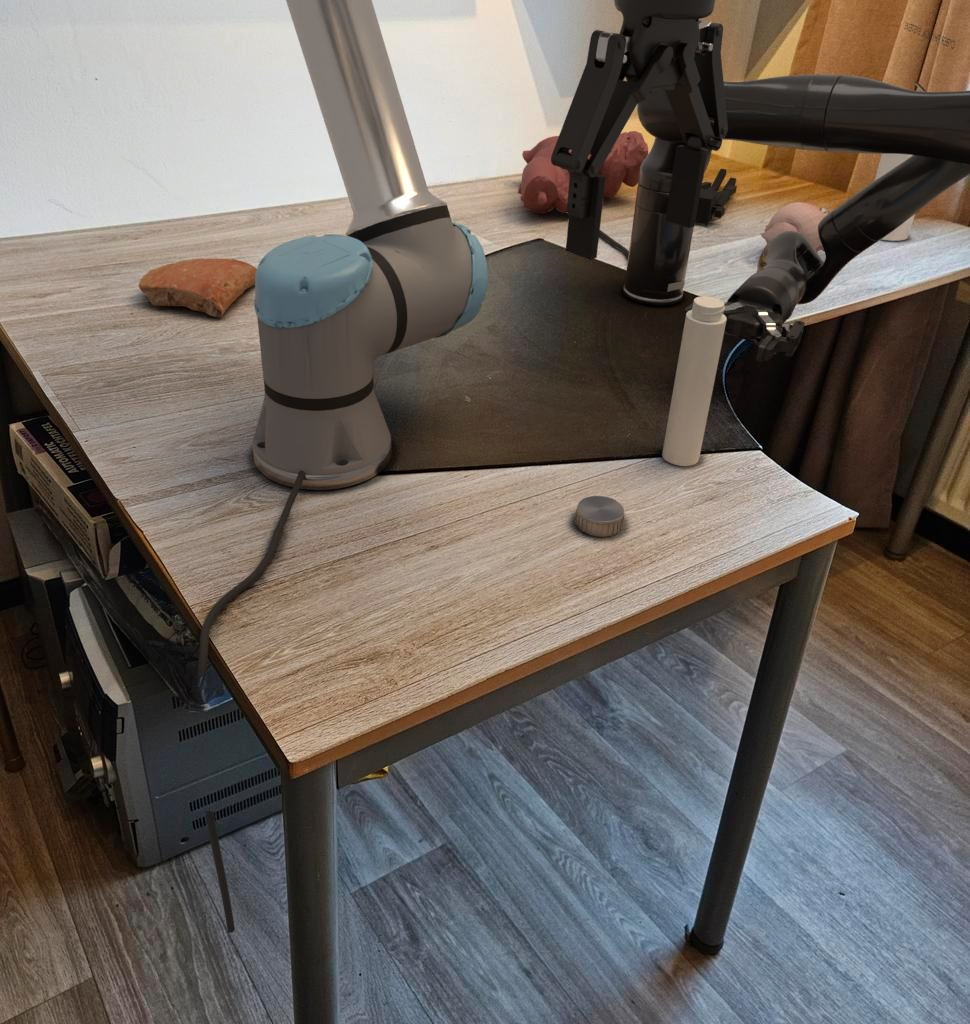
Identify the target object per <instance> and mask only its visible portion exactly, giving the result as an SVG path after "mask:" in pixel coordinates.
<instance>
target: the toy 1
mask: <svg viewBox="0 0 970 1024" xmlns="http://www.w3.org/2000/svg"><path fill="white" fill-rule="evenodd" d="M727 171H728V170H727V169H726V168H720V169H719V171H718V173H717V175H716V177H715V178H714V180H713V182H710V181H704V182H703V181H702V185H701V191H700V197H699V203H698V209H697V215H696V221H695V224H699V225H706V226H707V225H709V223H711V221H712V220H713V218H716V219H722V217H723V216H724V215H725V212H726V204H727V203H728V201H729V199H730V198H731V197H732V196H734V195H735V194H736V193H737V188H738V185H736V182H737V177H732V176H731V177H730V178H729V179H728V180H727V182H726V183H725V185H724V187H723V188H722V190H719V189H720V188H721V186H722V184H723V181H724V180H725V178H726V176H727Z"/></svg>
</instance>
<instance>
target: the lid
mask: <svg viewBox="0 0 970 1024" xmlns="http://www.w3.org/2000/svg"><path fill="white" fill-rule="evenodd" d="M624 520H625V509H624V506H623V505H622V504H621V503H620V502H619V501H617V500H616V499H613V498H611V497H608V496H602V495H591V496H586V497H584V498H582V499H581V500H579V502H578V504H577V506H576V510H575V518H574V521H575V524H576V527H577V528H578V529H579V530H580V531H581V532H582V533H584V534H586V535H590V536H593V537H598V538H602V537H603V538H605V537H607V538H608V537H612V536H615V535H617V534H618V533H619V532H620V531H622V528H623V526H624Z"/></svg>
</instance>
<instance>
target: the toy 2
mask: <svg viewBox="0 0 970 1024" xmlns="http://www.w3.org/2000/svg"><path fill="white" fill-rule="evenodd" d="M829 213H830V211H829V210H828V209H826V208H824V207H820V208H818V207H816V206H815V205H814V204H810V203H808V202H804V201H803V202H802V201H794V202H790V203H787V204H786V205H784V206H783V207H781V208H780V209H778V210H777V211H776V212H775V213H774V214H773V215H772V216H771V219H770V220H769V222H768V223H767V225H765V229H764V232H760V233H759V234H760V236H761V238H762V239H764V240H765V242H766V245H767V244H768V243H769V242H770V241H771V240H772V239H773V238H774V237H776V236H777V235H779V234H780V233H783V232H786V231H797V232H799V233H801V234H803V235H804V236H805V237H806V238H807V240H808V241H809V242H810V244H811V245H812V246H813V248H814V249H815V250H816V252H817V253H818V252H821V251H822V252H824V249H823V246H822V244H821V241H820V238H819V235H818V225H819V223H820V221H821V220H822V219H823V218H824V217H825V216H826V215H828V214H829Z"/></svg>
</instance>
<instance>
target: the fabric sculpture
mask: <svg viewBox="0 0 970 1024" xmlns="http://www.w3.org/2000/svg"><path fill="white" fill-rule="evenodd" d="M558 137H559V135H554V136H549V137H546V138H544V139H542V140H540V141H539V142H538V143H536V145H535V146H534V147H532V148H531V149H529V150H523V151H522V153H521V156H522V158H523V160H524V162H525V163H526V164H525V166H524V168H523V170H522V172H521V173H522V174H521V180H520V181H521V182H520V185H519V186H518V189H517V194H518V195H520V200H521V202H522V203H523V207H524V209H525V210H529V211H530V212H532V213H535V214H546V213H549V212H551V211H552V210H553V209H554V208H555V209H556V210H557V211H559V212H560V213H564V214H568V212H567V201H568V189H569V178H570V176H569V172H568V171H567V170H565V169H562V168H560V167H558V166H554V165H553V164H552V163H551V156H552V153H553V150H554V148H555V145H556V142H557V140H558ZM571 151H572V150H569V152H570V153H571ZM648 154H649V146H648V143H647V142H646V141H645V139H644V135H643V134H642V132H638V131H636V130H631V131H628V132H627V131H624V132H621V134H620V135H619V137H618V139H617V141H616V142H615V144H614V146H613V148H612V149H611V151H610V153H609V155H608V156H607V158H606V160H605V162H604V164H603V165H602V167H601V169H600V171H599V172H598V174H600V175H603V176H606V178H605V187H604V196H603V198H606V197H608V198H610V197H613V196H614V195H617V194H618V192H619V191H620V189H621V186H622V184H624V185H625V186H627V187H631V188H635V187H636V186H638V179H639V172H640V167H641V164H642V163H643V161H644V160H645V158H646V157H647V156H648ZM590 157H591V155H590V154H589V156H588V159H590Z"/></svg>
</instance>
